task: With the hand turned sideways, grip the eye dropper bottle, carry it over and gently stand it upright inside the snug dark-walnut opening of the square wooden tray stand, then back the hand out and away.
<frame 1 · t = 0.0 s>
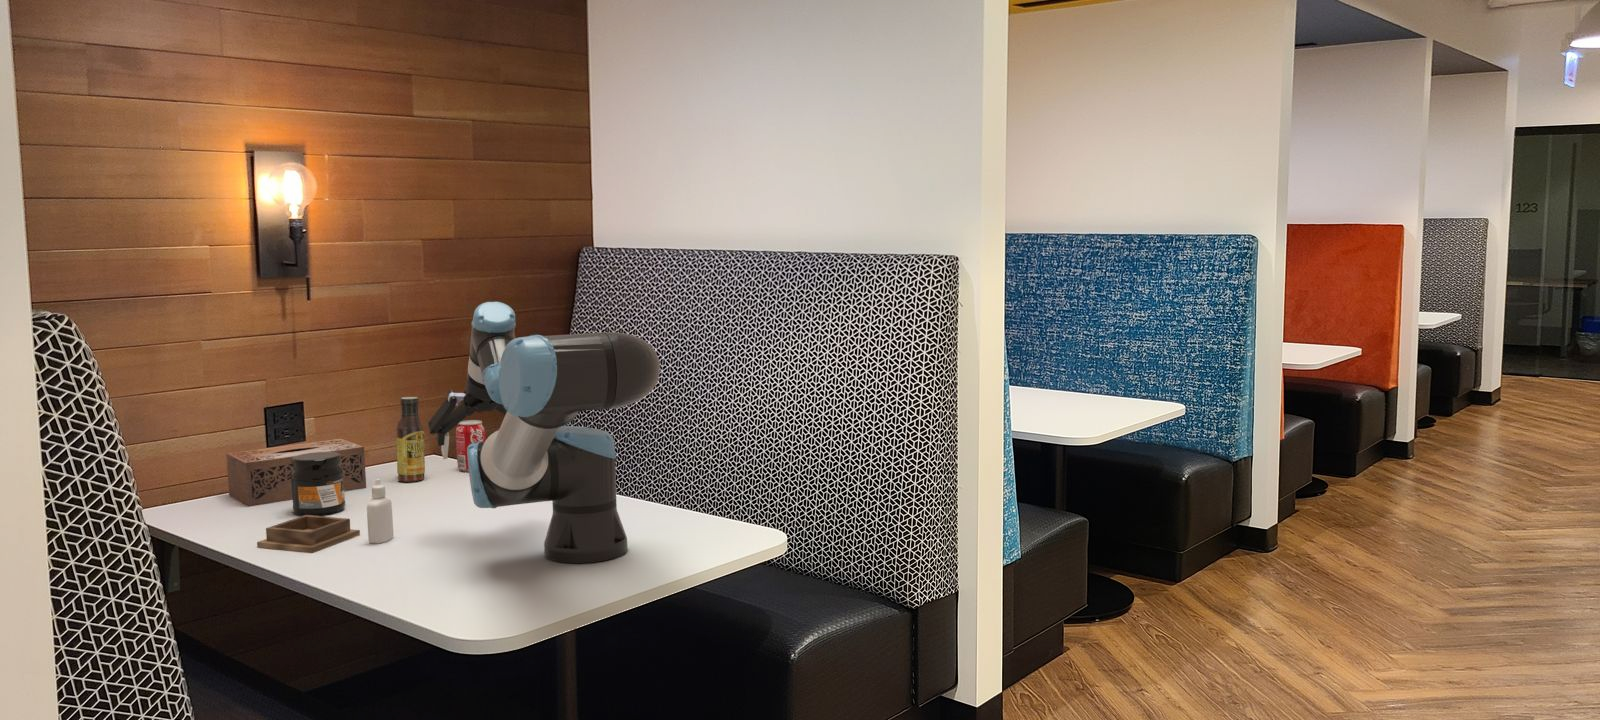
hand: (479, 451, 236), 15 cm above the table, tool tilted 35°, fingers open, 13 cm apart
square wooden tray stand: (309, 541, 227), on the table
sauce bottle: (412, 480, 281), on the table
eye dropper bottle: (381, 541, 228), on the table
tissue box cover: (298, 493, 270), on the table
supplement container: (319, 512, 251), on the table
soda can: (472, 470, 292), on the table
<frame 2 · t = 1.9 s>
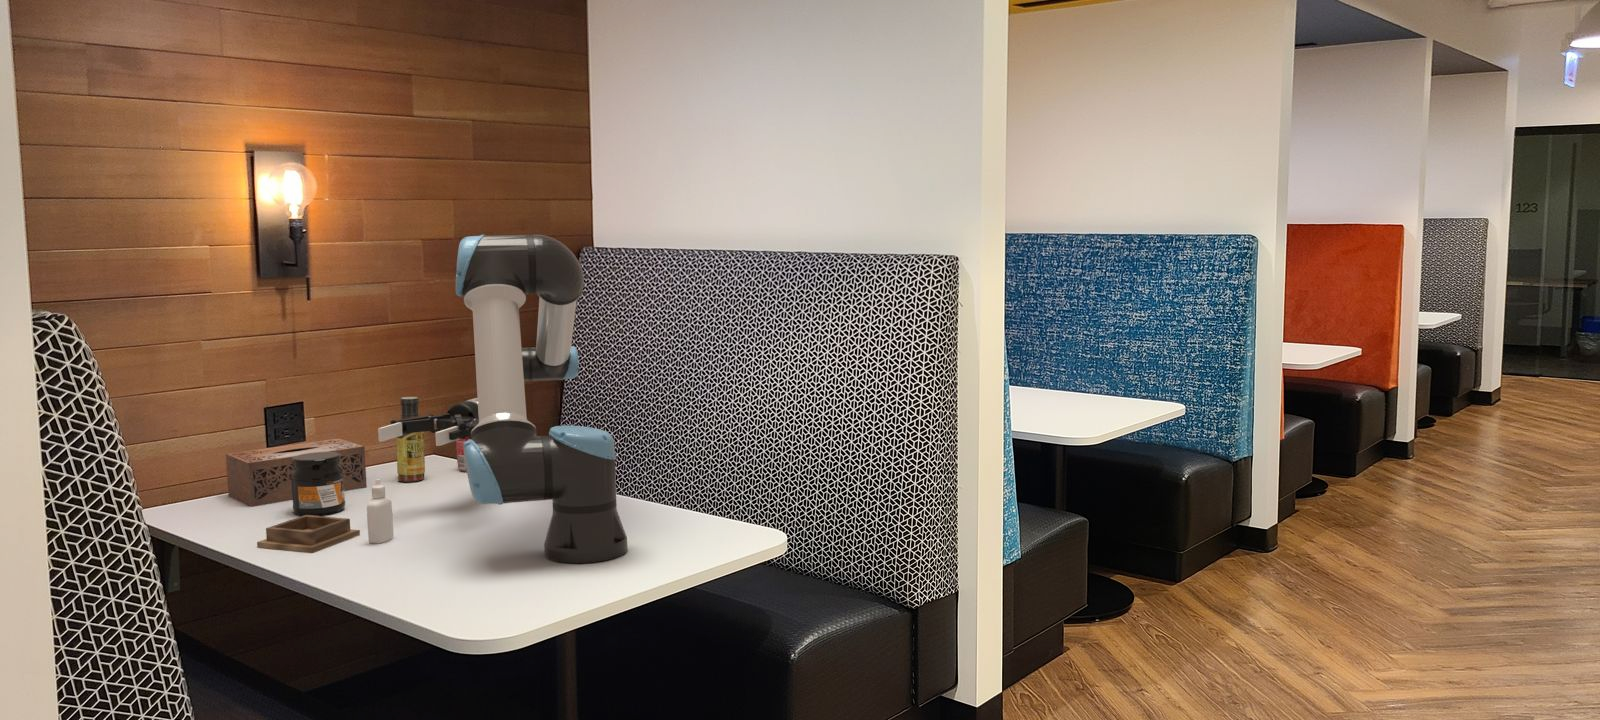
hand: (408, 437, 234), 19 cm above the table, tool horizontal, fingers open, 13 cm apart
nothing on the table moved.
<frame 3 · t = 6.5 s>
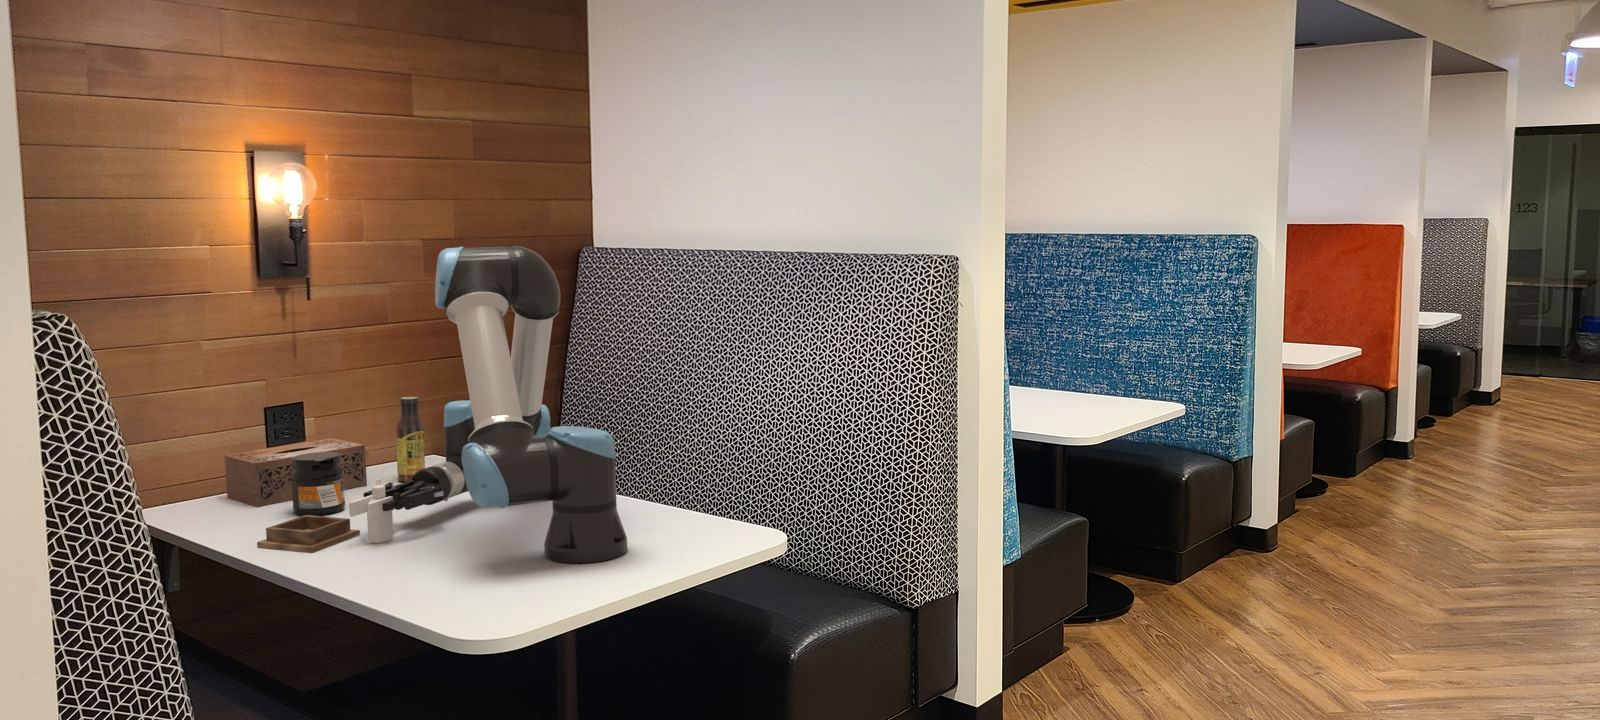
hand: (360, 510, 222), 7 cm above the table, tool horizontal, fingers closed on eye dropper bottle, 3 cm apart
eye dropper bottle: (381, 541, 228), on the table, touching gripper
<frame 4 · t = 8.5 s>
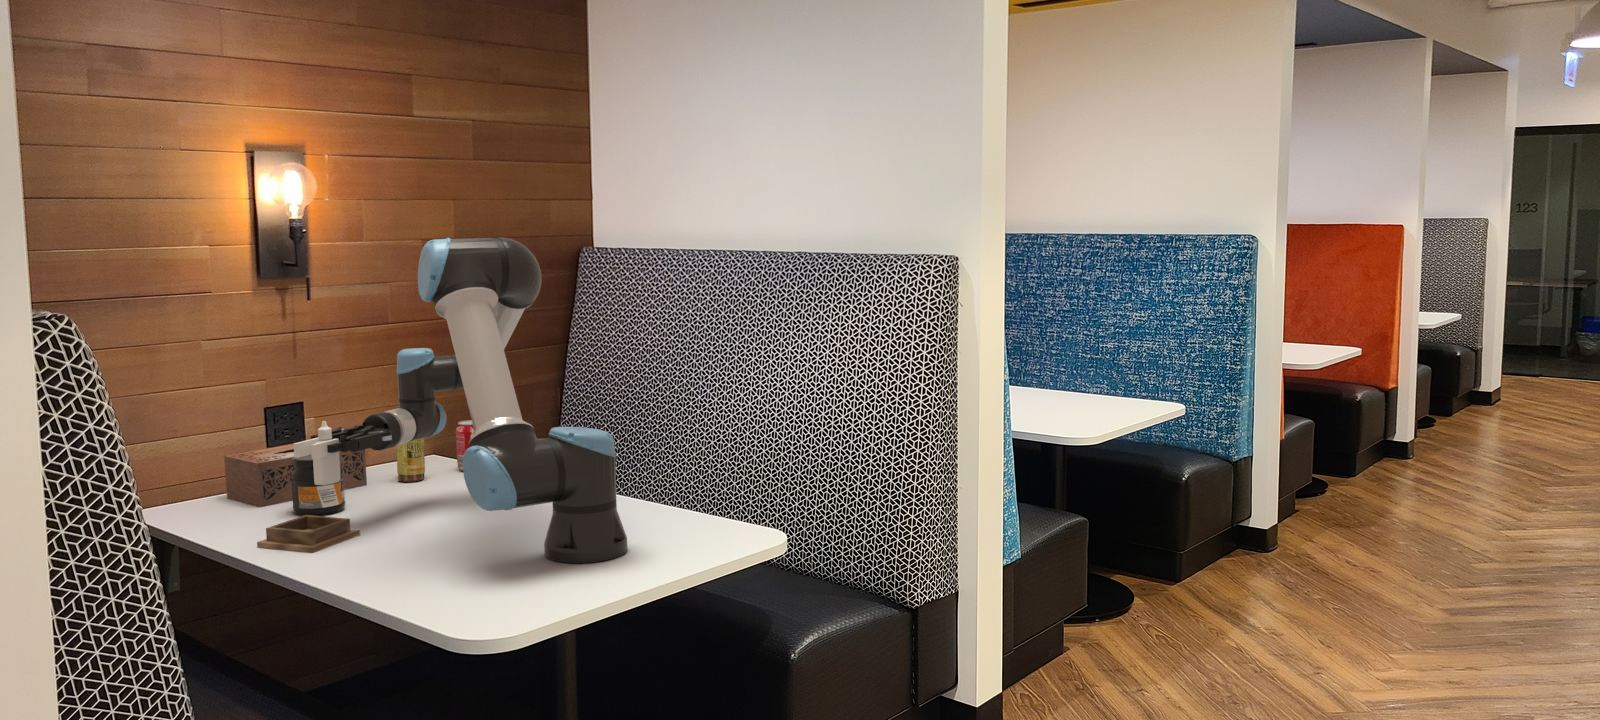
hand: (304, 451, 221), 18 cm above the table, tool horizontal, fingers closed on eye dropper bottle, 3 cm apart
eye dropper bottle: (327, 483, 227), point 11 cm above the table, touching gripper
when the fingers open (9 cm above the table, at t = 10.7 s): eye dropper bottle stays where it is, resting on square wooden tray stand.
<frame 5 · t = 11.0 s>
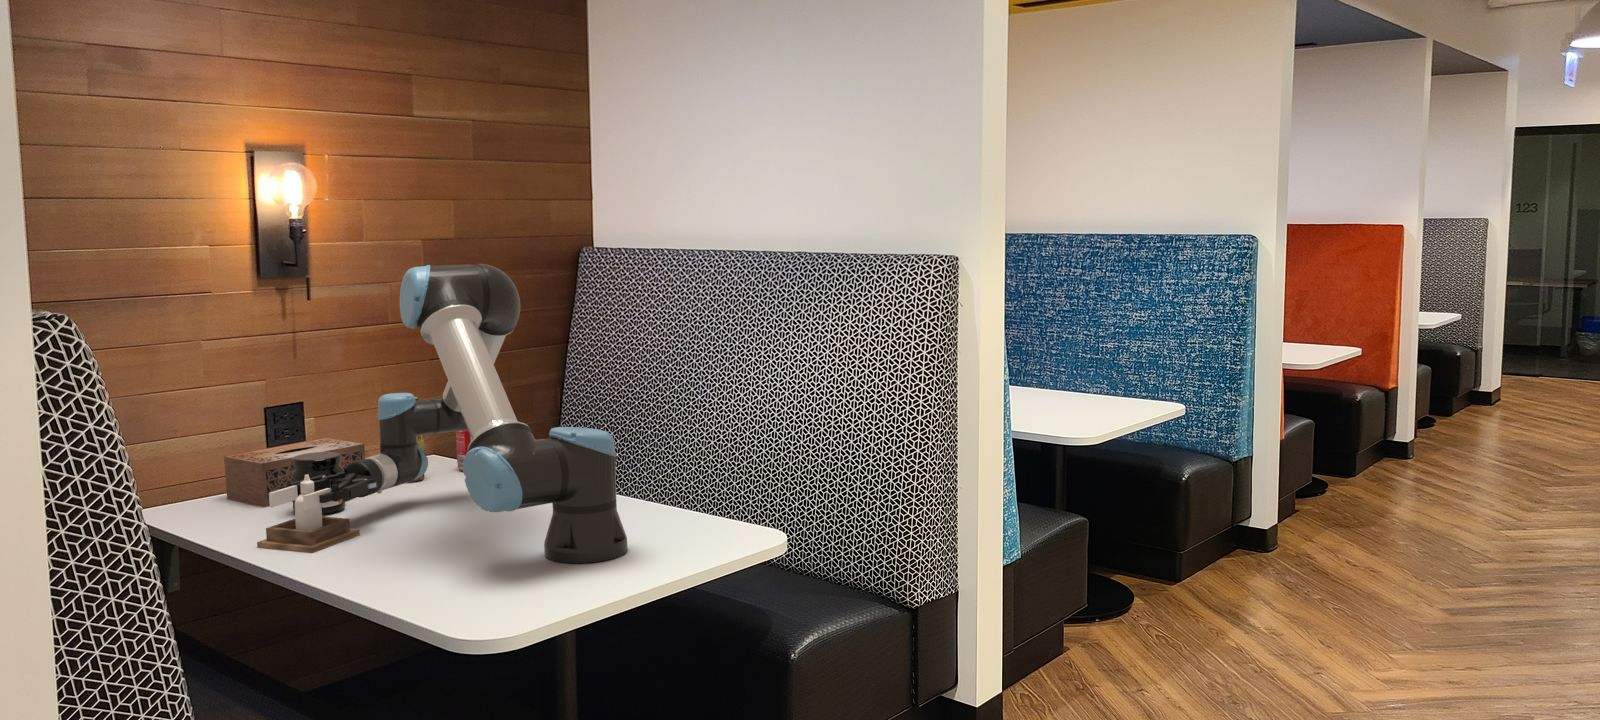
hand: (288, 501, 222), 9 cm above the table, tool horizontal, fingers open, 7 cm apart
eye dropper bottle: (309, 536, 227), point 1 cm above the table, touching square wooden tray stand
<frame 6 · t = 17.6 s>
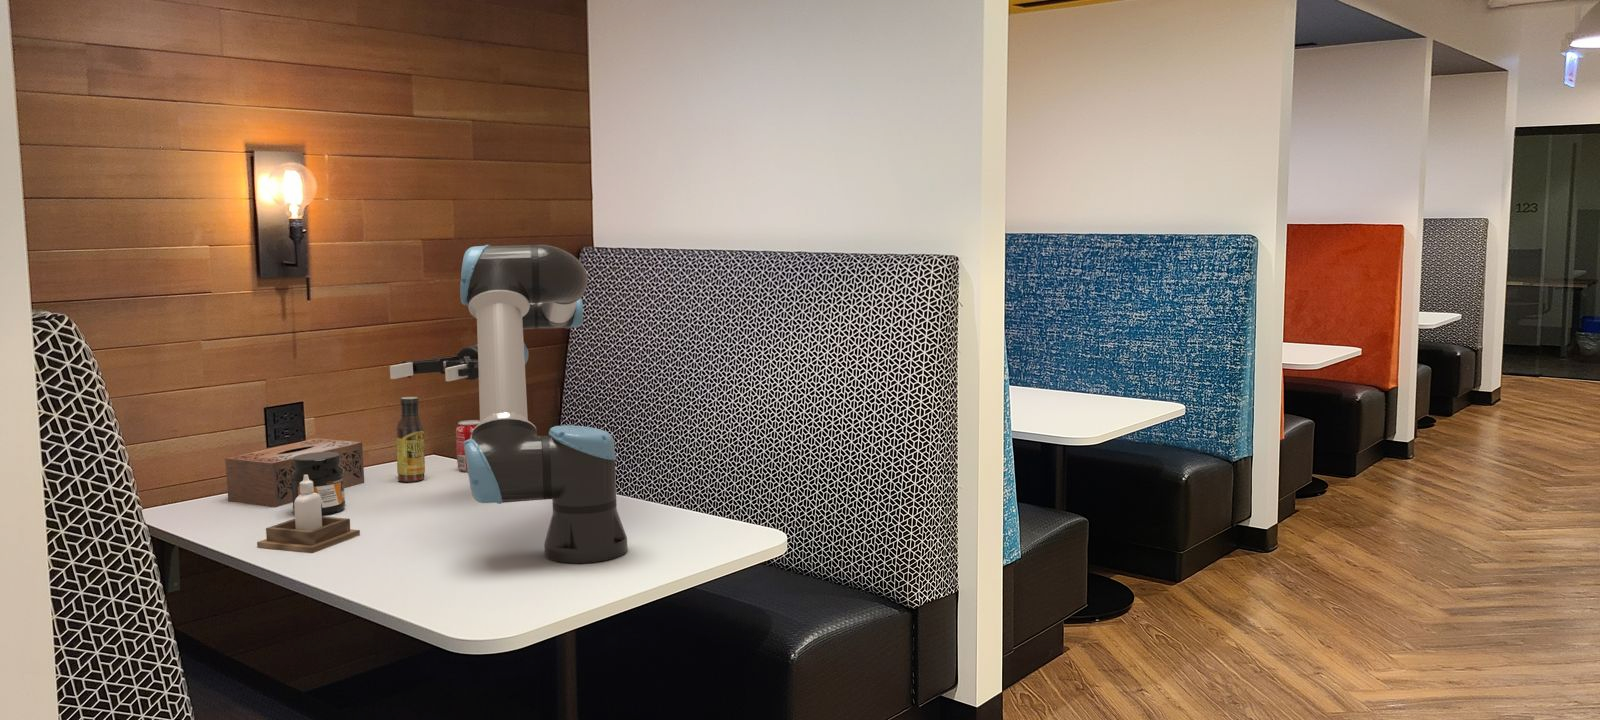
hand: (418, 373, 243), 30 cm above the table, tool horizontal, fingers open, 13 cm apart
at the end: eye dropper bottle 0.1 cm off-centre on the square wooden tray stand, point 0.8 cm above the square wooden tray stand's base; eye dropper bottle tilted 0°; the gripper is holding nothing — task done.
